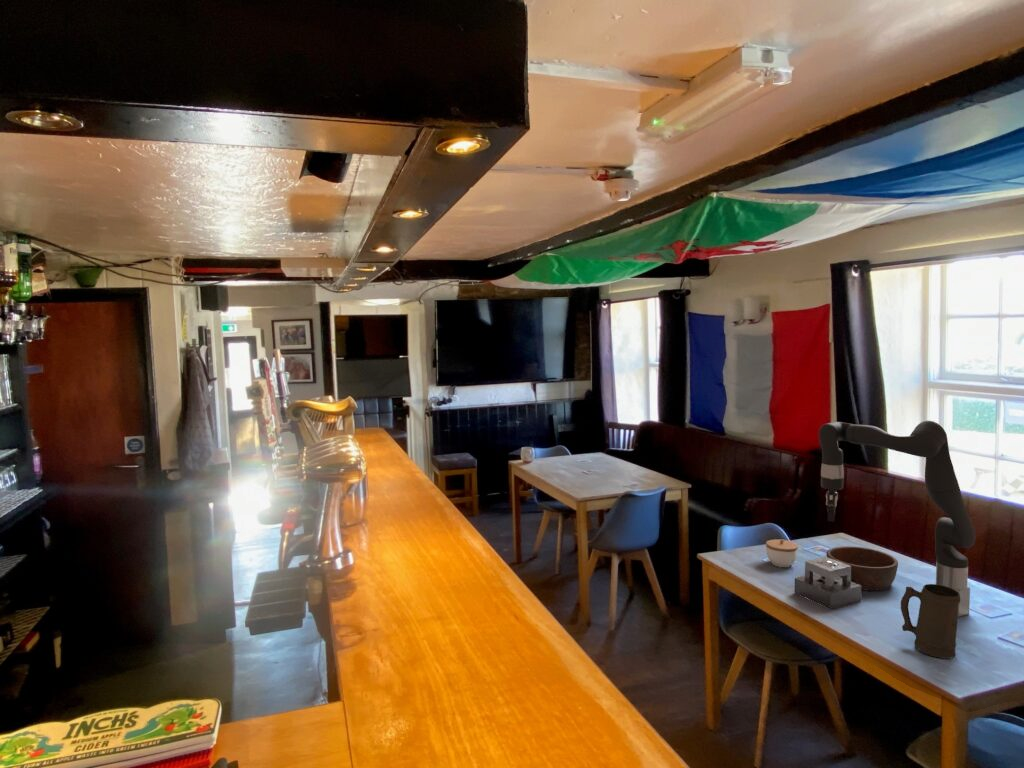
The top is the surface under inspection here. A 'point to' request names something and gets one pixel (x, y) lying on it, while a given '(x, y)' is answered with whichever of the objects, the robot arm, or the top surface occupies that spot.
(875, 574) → the wooden bowl
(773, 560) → the lidded bowl
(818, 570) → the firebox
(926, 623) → the beer stein
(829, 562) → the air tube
